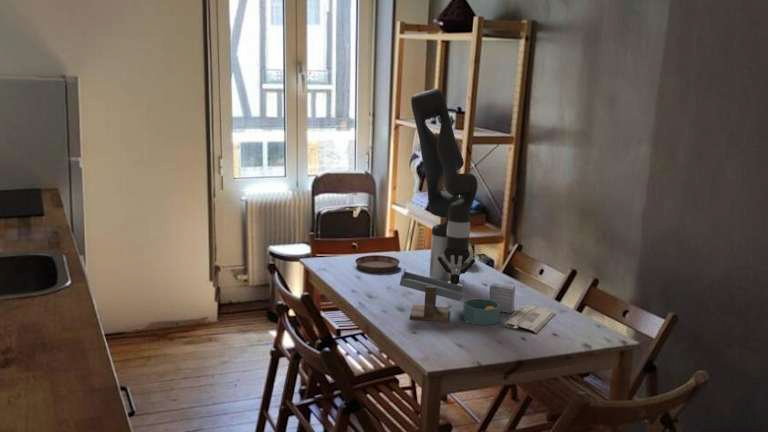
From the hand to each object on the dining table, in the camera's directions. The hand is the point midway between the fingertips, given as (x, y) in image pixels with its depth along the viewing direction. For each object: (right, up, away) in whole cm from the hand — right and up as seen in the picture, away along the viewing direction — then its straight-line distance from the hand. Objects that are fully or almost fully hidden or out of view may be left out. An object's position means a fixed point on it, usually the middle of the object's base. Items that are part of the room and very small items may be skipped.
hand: (454, 284), depth 235 cm
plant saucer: (-26, +2, +46) cm, 53 cm away
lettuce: (+7, +3, +58) cm, 59 cm away
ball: (+11, -8, -8) cm, 16 cm away
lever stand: (-9, -9, -5) cm, 14 cm away
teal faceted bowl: (+8, -10, -7) cm, 15 cm away
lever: (-8, -2, -3) cm, 9 cm away
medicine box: (+16, -9, +2) cm, 18 cm away
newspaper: (+23, -12, -6) cm, 26 cm away
